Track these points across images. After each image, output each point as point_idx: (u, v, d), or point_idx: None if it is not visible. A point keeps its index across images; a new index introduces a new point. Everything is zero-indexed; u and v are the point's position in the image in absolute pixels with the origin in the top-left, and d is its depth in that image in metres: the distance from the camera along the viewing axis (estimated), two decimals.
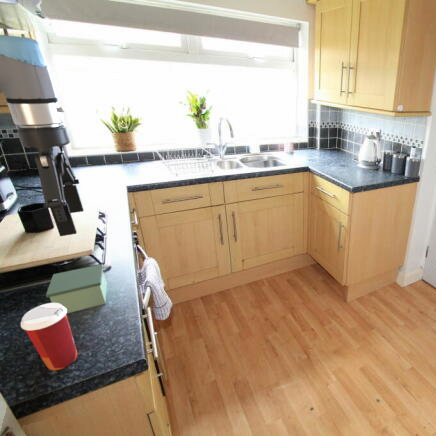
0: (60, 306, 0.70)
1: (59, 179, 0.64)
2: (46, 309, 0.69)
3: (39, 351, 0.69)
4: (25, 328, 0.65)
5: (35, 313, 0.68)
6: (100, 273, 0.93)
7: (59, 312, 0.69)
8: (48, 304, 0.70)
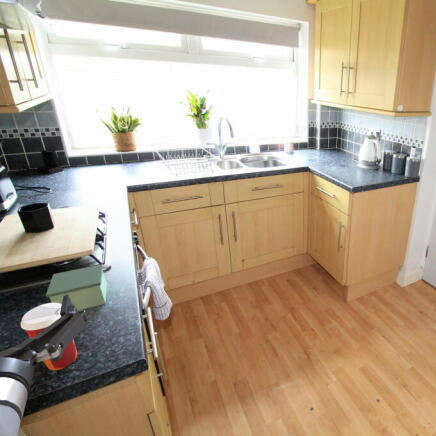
0: (60, 306, 0.70)
1: None
2: (46, 309, 0.69)
3: None
4: (25, 328, 0.65)
5: (35, 313, 0.68)
6: (100, 273, 0.93)
7: (59, 312, 0.69)
8: (48, 304, 0.71)
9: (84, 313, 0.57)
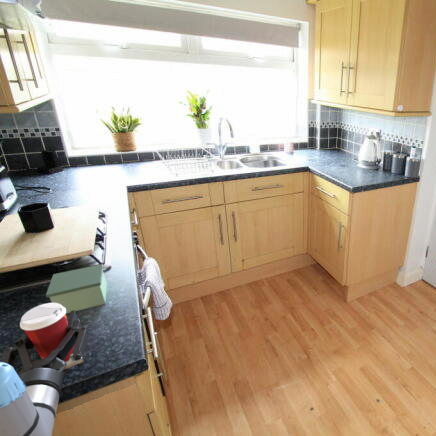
0: (59, 306, 0.70)
1: None
2: (45, 309, 0.69)
3: (38, 351, 0.69)
4: (24, 328, 0.65)
5: (34, 313, 0.68)
6: (100, 273, 0.93)
7: (58, 312, 0.69)
8: (47, 304, 0.70)
9: (86, 328, 0.71)
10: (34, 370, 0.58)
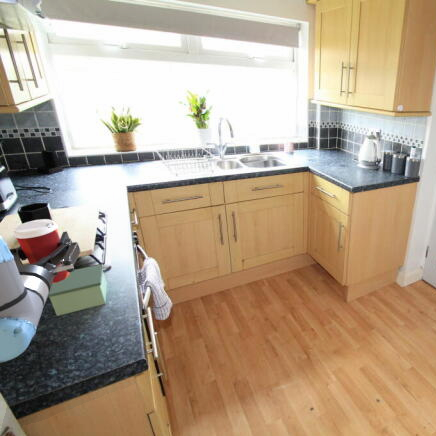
0: (51, 221, 0.73)
1: None
2: (37, 223, 0.72)
3: (31, 263, 0.71)
4: (17, 236, 0.68)
5: (27, 225, 0.70)
6: (100, 273, 0.93)
7: (50, 225, 0.71)
8: (40, 220, 0.73)
9: (77, 244, 0.74)
10: (25, 265, 0.60)
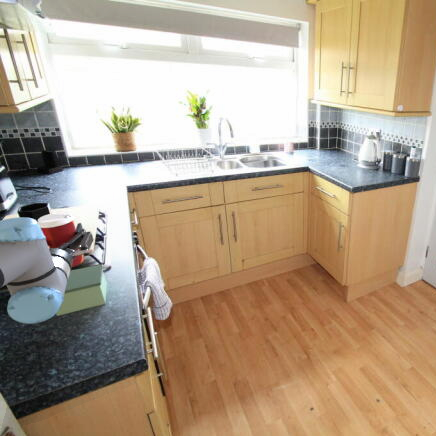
0: (68, 213, 0.85)
1: None
2: (57, 215, 0.84)
3: None
4: (40, 226, 0.80)
5: (48, 217, 0.82)
6: (100, 273, 0.93)
7: (68, 217, 0.83)
8: (58, 212, 0.85)
9: (91, 233, 0.86)
10: (50, 248, 0.72)
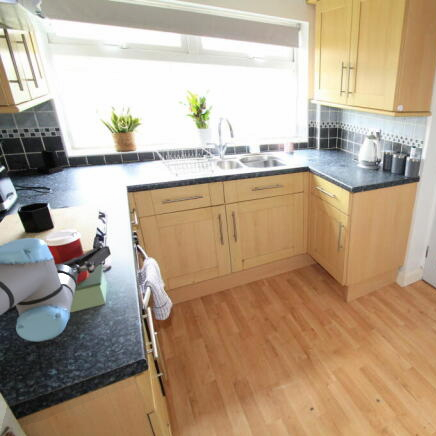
0: (75, 231, 0.87)
1: None
2: (64, 232, 0.86)
3: None
4: (48, 244, 0.82)
5: (55, 235, 0.84)
6: (100, 273, 0.93)
7: (74, 234, 0.85)
8: (65, 230, 0.87)
9: (108, 248, 0.87)
10: (56, 265, 0.74)
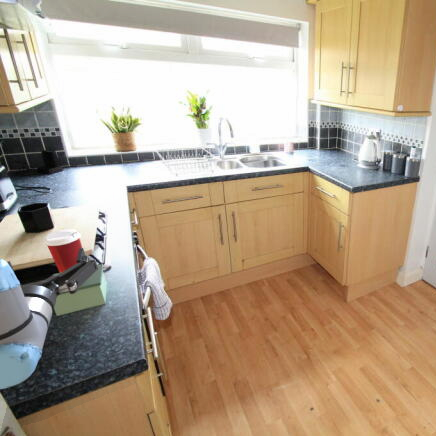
0: (75, 231, 0.87)
1: None
2: (64, 232, 0.86)
3: (58, 266, 0.85)
4: (48, 244, 0.82)
5: (55, 235, 0.84)
6: (100, 273, 0.93)
7: (74, 234, 0.85)
8: (65, 230, 0.87)
9: (95, 262, 0.74)
10: (28, 286, 0.60)
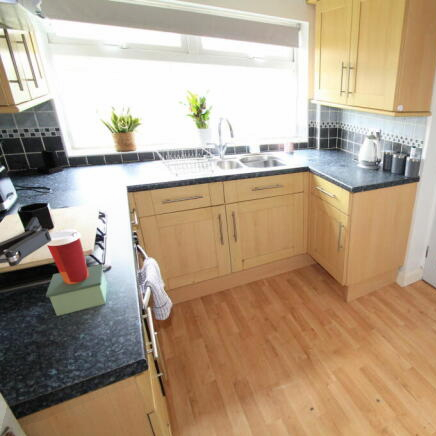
0: (75, 231, 0.87)
1: None
2: (64, 232, 0.86)
3: (58, 266, 0.85)
4: (48, 244, 0.82)
5: (55, 235, 0.84)
6: (100, 273, 0.93)
7: (75, 234, 0.85)
8: (65, 230, 0.87)
9: (46, 231, 0.62)
10: None
